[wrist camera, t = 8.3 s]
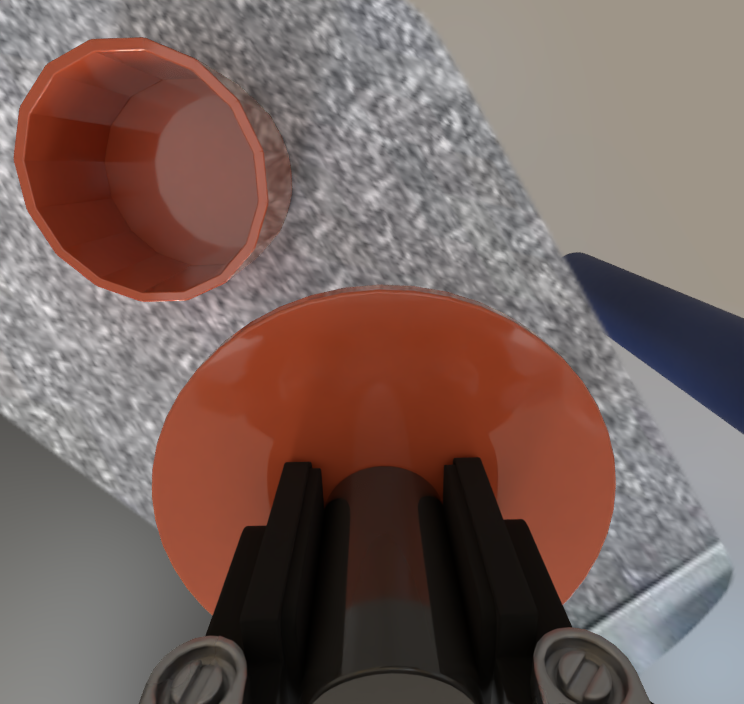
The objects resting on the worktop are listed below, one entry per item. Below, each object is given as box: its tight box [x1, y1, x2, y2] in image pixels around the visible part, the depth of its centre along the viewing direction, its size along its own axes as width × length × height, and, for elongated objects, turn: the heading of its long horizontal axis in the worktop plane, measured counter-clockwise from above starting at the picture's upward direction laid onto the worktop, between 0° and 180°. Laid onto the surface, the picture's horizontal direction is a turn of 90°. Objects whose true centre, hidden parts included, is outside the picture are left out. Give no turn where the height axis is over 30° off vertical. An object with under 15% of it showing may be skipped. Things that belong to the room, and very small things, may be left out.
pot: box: [14, 37, 292, 302], centre depth 22 cm, size 9×9×6 cm
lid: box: [152, 285, 616, 704], centre depth 9 cm, size 10×10×6 cm
